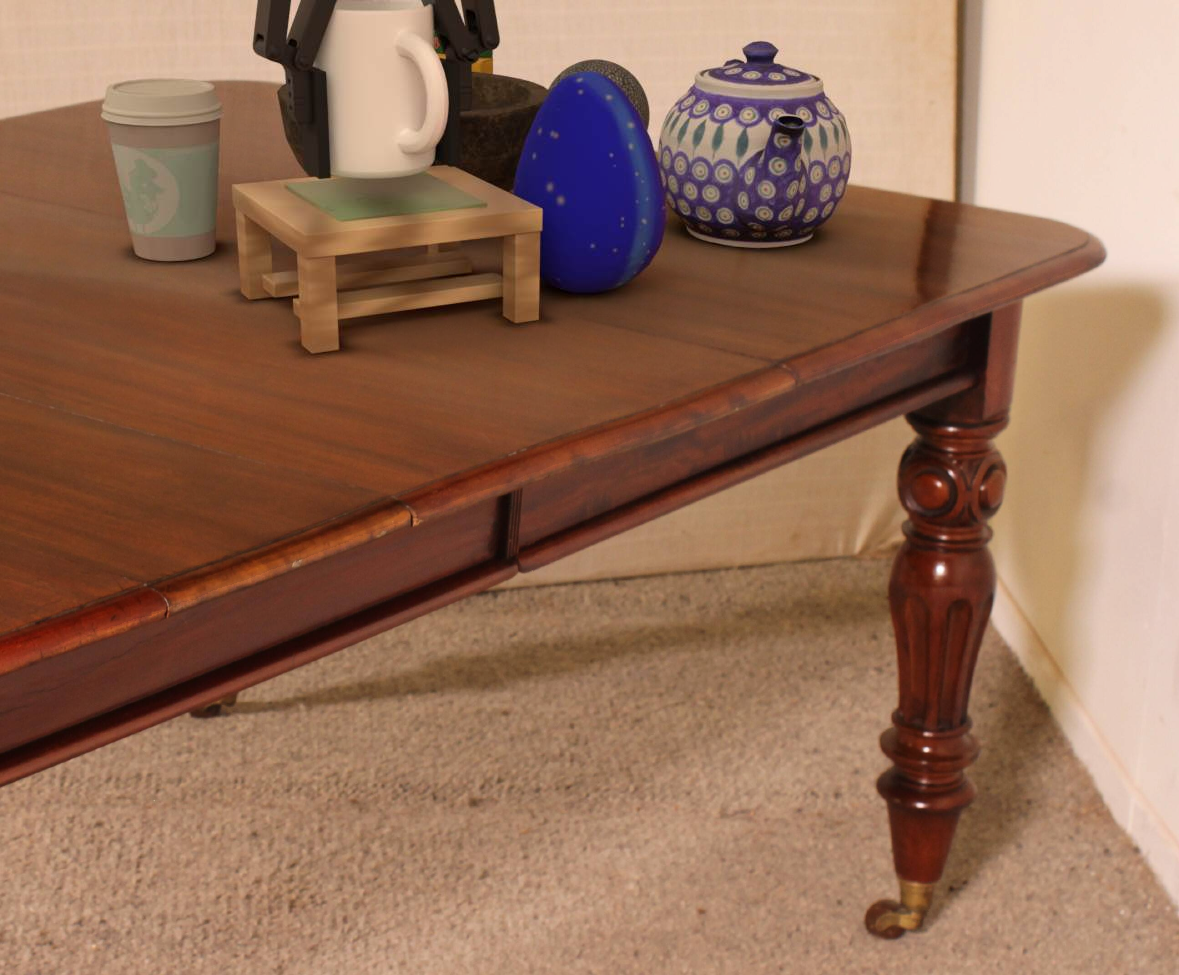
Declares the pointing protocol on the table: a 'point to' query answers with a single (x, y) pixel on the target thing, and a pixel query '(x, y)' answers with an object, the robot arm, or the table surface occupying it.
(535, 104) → the bowl
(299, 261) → the wooden side table
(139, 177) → the coffee cup
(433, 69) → the mug
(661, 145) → the teapot
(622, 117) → the ornament
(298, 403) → the table surface
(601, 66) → the decorative ball
